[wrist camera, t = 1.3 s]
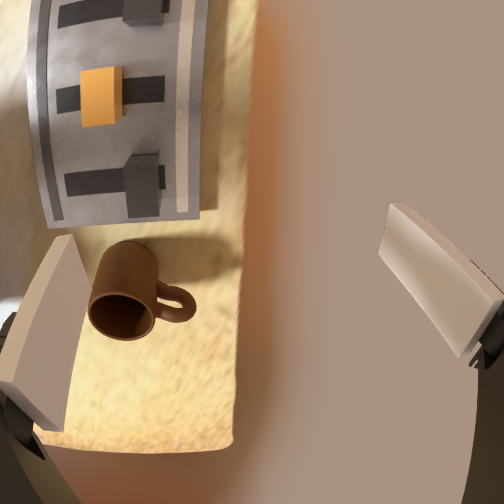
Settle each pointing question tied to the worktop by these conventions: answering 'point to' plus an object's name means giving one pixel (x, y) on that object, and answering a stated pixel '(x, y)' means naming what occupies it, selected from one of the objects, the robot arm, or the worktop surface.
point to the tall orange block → (101, 96)
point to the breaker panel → (133, 108)
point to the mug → (133, 294)
